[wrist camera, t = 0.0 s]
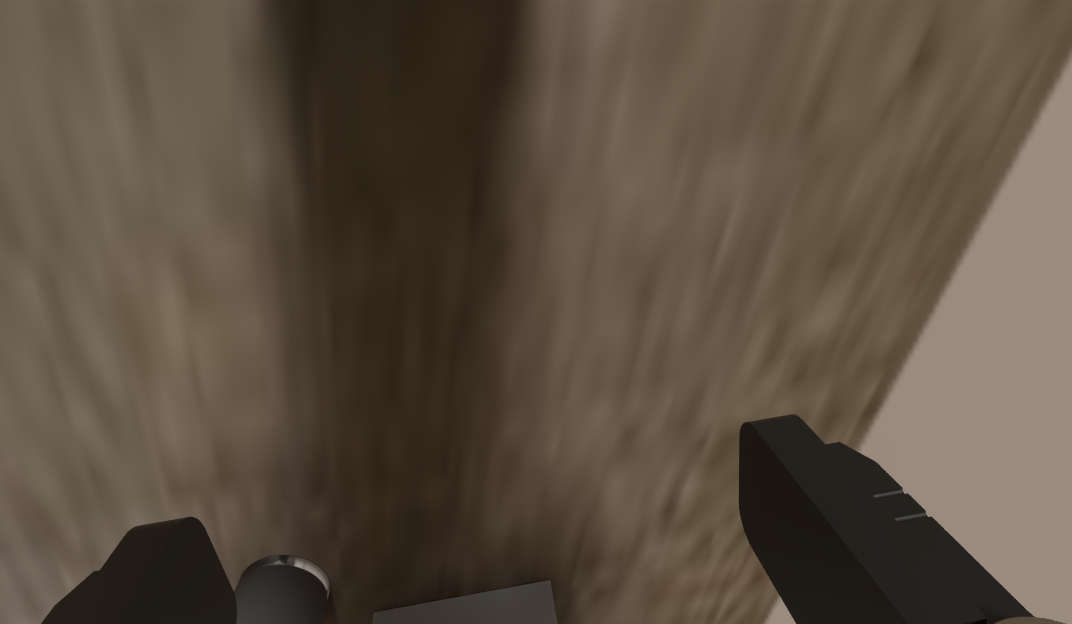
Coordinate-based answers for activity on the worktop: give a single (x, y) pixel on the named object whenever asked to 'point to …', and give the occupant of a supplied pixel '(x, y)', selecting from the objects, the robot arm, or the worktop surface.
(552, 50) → the worktop surface
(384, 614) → the camera body
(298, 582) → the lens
